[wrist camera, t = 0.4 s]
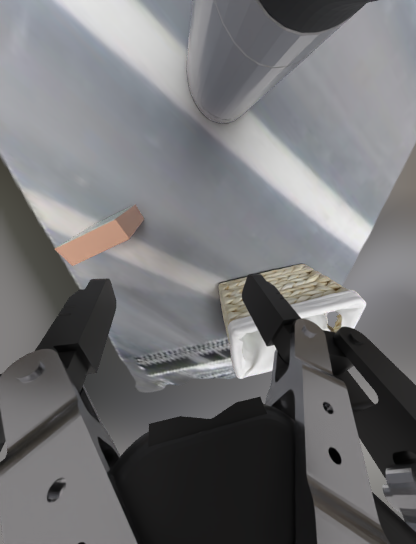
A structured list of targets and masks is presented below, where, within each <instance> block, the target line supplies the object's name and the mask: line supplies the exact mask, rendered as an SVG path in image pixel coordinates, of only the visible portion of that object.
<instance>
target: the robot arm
mask: <svg viewBox="0 0 416 544" xmlns="http://www.w3.org/2000/svg"><path fill="white" fill-rule="evenodd" d="M372 1H377V0H192V9H191V20H190V32H189V42H188V54H187V77H188V84H189V88H190V91H191V94H192V97H193V99H194V102H195V103H196V105H197V107H198V108H199V110H200V111H201V112H202V113H203V114H204V115H205V116H206V117H207V118H209V119H210V120H212V121H214V122H217V123H229V122H232V121H234V120H236V119H238V118H239V117H240V116H241V115H243V114H244V113H245V112H246V111H247V110H248V109H249V108H251V107H252V106H253V105H254V104H255V103H256V102H257V101H259V100H260V99H261V98H262V97H263V96H264V95H265V94H266V93H268V92H269V91H270V90H271V89H272V88H273V87H274V86H275V85H276V84H278V83H279V82H280V81H281V80H282V79H283V78H284V77H285V76H286V75H288V74H289V73H290V72H291V71H292V70H293V69H294V68H295V67H297V66H298V65H299V64H300V63H301V62H302V61H303V60H304V59H305V58H307V57H308V56H309V55H310V54H311V53H312V52H313V51H314V50H315V49H316V48H317V47H318V46H320V45H321V44H322V43H323V42H324V41H325V40H326V39H327V38H328V37H330V36H331V35H332V34H333V33H334V32H335V31H336V30H337V29H339V28H340V27H341V26H342V25H343V24H344V23H345V22H346V21H347V20H349V19H350V18H351V17H352V16H353V15H354V14H355V13H356V12H357V11H358V10H360V9H361V8H362V7H363V6H364V5H365V4H366V3H368V2H372ZM242 300H243V302H244V304H245V306H246V308H247V310H248V312H249V314H250V315H251V317H252V319H253V321H254V323H255V325H256V327H257V329H258V331H259V333H260V335H261V336H262V338H263V340H264V342H265V344H266V346H273V345H275V347H276V350H275V353H274V362H273V371H272V381H271V386H270V389H269V392H268V394H267V398H266V403H265V404H263V403H262V401H261V398H260V397H257V398H253V399H249V400H245V401H241V402H237V403H235V404H233V405H232V406H230V407H229V408H227V409H226V410H224V411H223V412H222V413H220V414H219V415H217V416H216V417H214V418H212V419H202V418H192V417H181V416H180V417H176V418H172V419H168V420H163V421H159V422H155V423H151V424H149V432H147V433H145V434H144V435H143V436H141V437H140V438H139V439H137V440H136V441H135V442H134V443H133V444H132V445H131V446H130V447H128V449H126V451H125V452H124V453H123V454H122V455H121V456H120V454H119V452H118V450H117V448H116V446H115V444H114V443H113V440H112V438H111V437H110V435H109V433H108V432H107V430H106V429H105V427H104V425H103V423H102V422H101V420H100V418H99V416H98V414H97V412H96V410H95V408H94V405H93V403H92V401H91V400H90V398H89V396H88V393H87V392H86V389H85V387H84V386H83V384H84V381H85V378H86V375H87V374H92V373H97V370H98V367H99V363H100V360H101V357H102V354H103V350H104V347H105V344H106V340H107V337H108V334H109V330H110V327H111V324H112V321H113V317H114V314H115V311H116V298H115V295H114V291H113V288H112V284H111V281H110V279H91V280H90V282H89V283H88V285H87V287H86V289H85V290H78V291H77V292H76V293H75V294H73V295H72V296H71V297H69V299H68V300H67V302H66V304H65V305H64V308H63V309H62V310H61V312H60V313H59V316H57V318H56V319H55V321H54V322H53V324H52V325H51V327H50V329H49V330H48V331H47V333H46V335H45V336H44V338H43V339H42V341H41V343H40V344H39V345H38V347H37V348H36V350H35V351H34V352H31V353H29V354H26V355H25V356H23V357H21V358H19V359H18V360H17V361H15V362H14V363H13V364H11V365H10V366H9V367H8V368H7V369H6V370H5V371H4V372H3V373H2V374H0V451H1V449H2V447H3V445H4V443H5V441H6V445H7V455H6V458H5V459H4V460H3V461H1V462H0V522H1V530H2V538H3V544H416V385H415V384H414V383H413V382H412V381H411V380H410V379H409V378H408V377H407V376H406V375H405V374H404V373H402V372H401V371H400V370H399V369H398V368H397V367H396V366H395V365H394V364H393V363H392V362H391V361H390V360H389V359H388V358H387V357H386V356H385V355H384V354H383V353H382V352H381V351H380V350H379V349H378V348H377V347H376V346H375V345H374V344H373V343H372V342H371V341H370V340H369V339H367V337H365V336H364V335H363V334H362V333H360V332H359V331H357V330H355V329H353V328H350V327H341V328H340V329H339V330H338V331H337V332H331V331H325V330H322V329H321V328H320V327H319V326H318V325H317V324H315V323H314V322H312V321H310V320H307V319H301V317H300V316H299V315H298V314H297V313H296V311H295V310H294V309H293V308H292V306H291V305H290V304H289V303H288V302H287V300H286V299H284V297H283V295H282V294H280V292H279V291H278V289H277V288H276V287H275V286H274V285H272V284H271V283H270V282H267V281H266V280H265V278H264V277H263V276H262V275H261V274H250V275H248V276H247V279H246V282H245V285H244V288H243V291H242ZM352 366H355V367H356V369H357V370H358V371H359V372H360V373H361V375H362V376H363V377H364V378H365V380H366V381H367V382H368V383H369V384H370V386H371V387H372V388H373V389H374V390H375V392H376V393H377V395H378V399H379V401H378V403H377V404H374V403H373V402H372V401H371V400H370V399H369V398H368V396H367V395H366V394H365V392H364V391H363V390H362V389H361V388H360V386H359V385H358V383H357V382H356V381H355V380H354V378H353V377H352V376H351V375H350V373H349V372H348V371H347V370H348V369H350V368H351V367H352ZM358 436H359V437H358ZM359 438H360V439H361V441H362V443H363V444H364V446H365V447H366V449H367V450H368V452H369V453H370V455H371V456H372V458H373V460H374V461H375V463H376V464H377V466H378V468H379V469H380V471H381V472H382V474H383V475H384V477H385V478H386V480H387V484H384V485H383V492H384V495H385V497H386V499H387V501H388V502H389V504H390V505H391V506H392V507H393V508H394V509H395V510H396V511H398V512H401V513H402V515H403V518H404V521H405V522H404V521H403V520H402V519H401V518H400V517H399V516H398V515H397V514H395V513H394V512H393V511H392V510H391V509H390V508H389V507H388V506H387V505H386V504H385V503H384V502H382V501H381V500H380V499H379V498H378V497H377V496H376V495H375V494H374V493H373V492H372V491H371V486H370V482H369V479H368V474H367V470H366V466H365V461H364V457H363V453H362V450H361V445H360V441H359Z"/></svg>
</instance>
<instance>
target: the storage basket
mask: <svg viewBox="0 0 416 544" xmlns="http://www.w3.org/2000/svg"><path fill="white" fill-rule="evenodd" d="M260 274H261V275H262V276H263V277H264V278H265V280H266V281H267V282H270V283H271V284H272V285H274V286H275V287H276V288H277V289H278V291H279V292H280V294H282V295H283V297H284V299H286V300H287V302H288V303H289V304H290V305H291V306H292V308H293V309H294V310H295V311H296V313H297V314H298V315H299V316H300V317H301V319H307V320H310V321H312V322H314V323H315V324H317V325H318V326H319V327H320V328H321V329H322V330H325V331H331V332H337V331H338V330H339V329H340V328H341V327H350V328H353V329H354V328H355V326H356V324H357V322H358V320H359V318H360V316H361V314H362V312H363V310H364V309H365V307H366V302H365V301H364V299H362V298H361V297H360V295H359V294H358V293H357V292H356V291H354V290H348V289H346V288H343V287H342V286H341V285H339V284H337V283H336V282H334V281H333V280H332V281H331V279H330V278H329V277H327V276H324V275H322V274H321V273H320V272H318V271H314V269H312V268H310V267H309V266H307V265H305V264H299V265H294V266H291V267H286V268H282V269H278V270H272V271H269V272H264V273H260ZM246 279H247V277H245V278H240V279H236V280H231V281H228V282H224V283H220V284H219V287H218V289H219V296H220V302H221V309H222V314H223V320H224V323H225V327H226V332H227V336H228V341H229V344H230V352H231V360H232V365H233V368H234V371H235V373H236V376H237V377H238V378H240V379H242V378H245V377H248V376H252V375H257V374H261V373H265V372H269V371H272V370H273V362H274V353H275V350H276V347H275V345H273V346H266V344H265V342H264V340H263V338H262V336H261V335H260V333H259V331H258V329H257V327H256V325H255V323H254V321H253V319H252V317H251V315H250V314H249V312H248V310H247V308H246V306H245V304H244V302H243V300H242V291H243V288H244V285H245V282H246ZM332 311H337V313H338V314H339V317H338V316H337V317H338V319H337V321H336V323H335V326H334V327H333V328H332V327H330V326H329V325H328V324H327V322H328V319H327V317H326V316H325V313H328V312H332Z"/></svg>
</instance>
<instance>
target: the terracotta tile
mask: <svg viewBox="0 0 416 544" xmlns="http://www.w3.org/2000/svg"><path fill="white" fill-rule="evenodd" d="M143 220H144V217H143V216H142V214H141V213H140V211H139V210H138V208H137V206H136V205H134V206H131V207H129V208H127V209H125V210H123V211H121V212H119V213H117V214H115V215H113V216H111V217H109V218H107V219H104V220H102V221H100V222H98V223H96V224H94V225H93V226H91V227H89V228H88V229H86V230H84V231H83V232H81V233H79V234H78V235H76V236H74V237H73V238H71V239H69V240H68V241H66V242H65V243H63V244H61V245H60V246H58V247H57V248H55V250H56V251H57V252H58V253H59V254H60V255H61V256H62V257H64V258H65V259H66V260H67V261H68V262H69V263H70V264H71V265H72V266H73V265H76V264H78V263H80V262H82V261H84V260H86V259H88V258H90V257H93V256H95V255H97V254H99V253H101V252H103V251H105V250H107V249H110V248H112V247H114V246H116V245H118V244H120V243H122V242H124V241H127V240H129V239H130V238H131V237H132V235H133V234H134V232H135V231H136V230H137V228H138V227H139V226H140V224H141V223H142V222H143Z"/></svg>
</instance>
